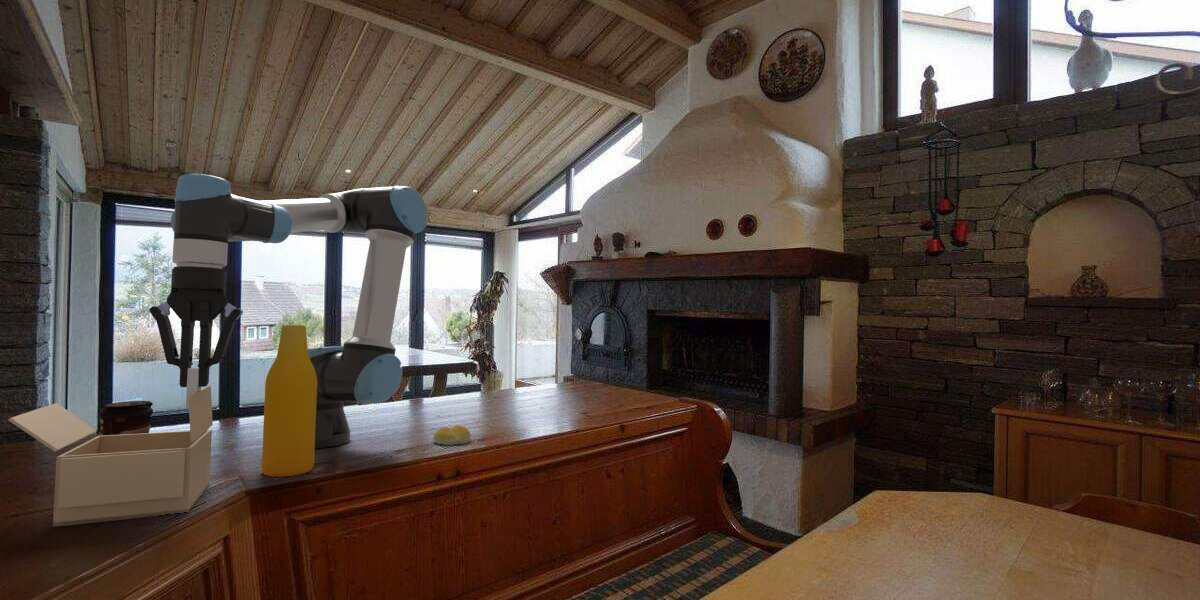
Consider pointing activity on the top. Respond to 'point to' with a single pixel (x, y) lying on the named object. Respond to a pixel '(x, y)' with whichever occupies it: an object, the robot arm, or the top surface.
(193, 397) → the flap
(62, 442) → the flap
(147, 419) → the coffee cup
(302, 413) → the beer bottle
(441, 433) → the bread roll
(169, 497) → the carton
